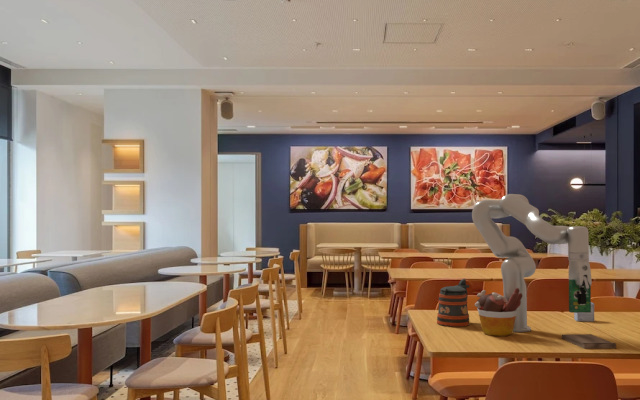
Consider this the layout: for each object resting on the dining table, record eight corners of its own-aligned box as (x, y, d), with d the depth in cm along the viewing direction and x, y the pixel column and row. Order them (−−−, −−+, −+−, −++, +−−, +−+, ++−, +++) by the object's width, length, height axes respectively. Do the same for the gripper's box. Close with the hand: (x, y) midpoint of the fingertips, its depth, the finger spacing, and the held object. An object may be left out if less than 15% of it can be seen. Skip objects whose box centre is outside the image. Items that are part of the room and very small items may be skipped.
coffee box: (588, 311, 225) (587, 278, 225) (591, 312, 222) (591, 279, 222) (568, 311, 224) (567, 279, 225) (572, 313, 221) (571, 279, 222)
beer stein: (450, 318, 271) (450, 277, 272) (479, 322, 262) (478, 279, 263) (431, 324, 257) (430, 280, 258) (460, 328, 247) (460, 283, 248)
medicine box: (591, 320, 267) (590, 301, 268) (594, 321, 263) (594, 303, 263) (573, 319, 268) (573, 301, 269) (577, 321, 264) (576, 303, 264)
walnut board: (584, 348, 208) (584, 343, 208) (561, 338, 226) (561, 333, 226) (616, 348, 208) (615, 343, 208) (590, 338, 226) (590, 333, 226)
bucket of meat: (466, 333, 236) (466, 286, 237) (486, 328, 248) (485, 283, 248) (511, 340, 222) (511, 290, 223) (530, 334, 233) (529, 286, 234)
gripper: (598, 258, 216) (599, 306, 215) (577, 255, 232) (578, 300, 232) (579, 258, 216) (580, 306, 215) (559, 256, 232) (560, 300, 231)
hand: (579, 302), depth 223 cm, fingers closed on coffee box, 3 cm apart
